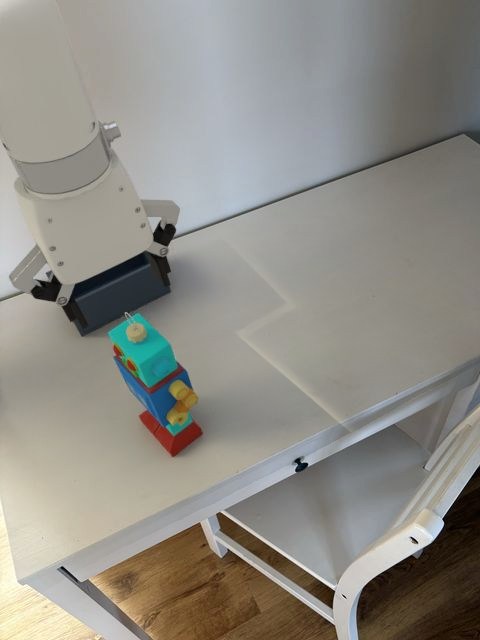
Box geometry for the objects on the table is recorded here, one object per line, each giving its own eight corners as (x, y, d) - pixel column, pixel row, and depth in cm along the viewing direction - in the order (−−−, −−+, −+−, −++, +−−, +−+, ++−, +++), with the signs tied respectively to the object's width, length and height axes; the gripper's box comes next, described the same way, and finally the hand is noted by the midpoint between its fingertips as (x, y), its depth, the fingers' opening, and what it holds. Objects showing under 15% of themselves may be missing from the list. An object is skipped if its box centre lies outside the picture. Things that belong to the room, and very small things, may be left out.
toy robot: (135, 414, 81) (77, 303, 61) (167, 391, 83) (122, 276, 64) (179, 465, 75) (132, 360, 56) (213, 438, 78) (178, 328, 58)
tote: (81, 336, 92) (65, 307, 86) (61, 303, 97) (45, 272, 91) (171, 291, 97) (161, 260, 91) (147, 261, 102) (136, 230, 96)
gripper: (136, 103, 49) (176, 246, 62) (-53, 177, 44) (35, 315, 57) (175, 137, 44) (208, 283, 58) (-30, 223, 40) (59, 360, 53)
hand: (122, 299), depth 58 cm, fingers open, 9 cm apart
